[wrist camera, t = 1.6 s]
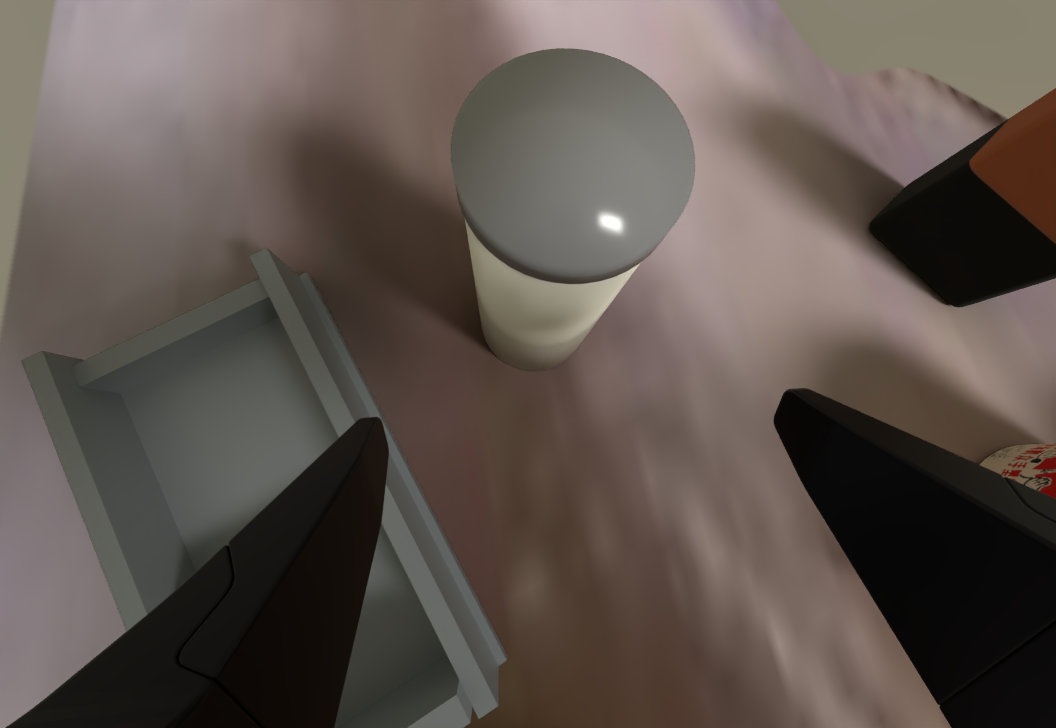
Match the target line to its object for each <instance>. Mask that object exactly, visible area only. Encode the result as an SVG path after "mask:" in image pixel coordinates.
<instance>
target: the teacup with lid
mask: <svg viewBox="0 0 1056 728" xmlns="http://www.w3.org/2000/svg"><path fill="white" fill-rule="evenodd" d="M980 465H981V466H983V467H985V468H987V469H990V470H992V471H994V472H996V473H999V474H1001V475H1002V476H1003V477H1008V478H1010V479H1012V480H1015V481H1017V482H1019V483H1021V484H1024V485H1026V486H1028V487H1030V488H1033V489H1035V490H1037V491H1039V492H1042V493H1044V494H1046V495H1049V496H1051V497H1053V498H1056V444H1022V445H1015V446H1011V447H1007V448H1004V449H1002V450H999V451H997V452H995V453H993V454H992V455H990V456H989V457H987V458H986V459H985V460H984V461H983V462H982V463H981V464H980Z"/></svg>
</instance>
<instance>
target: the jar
mask: <svg viewBox="0 0 1056 728" xmlns="http://www.w3.org/2000/svg"><path fill="white" fill-rule="evenodd" d="M451 162H452V168H453V174H454V179H455V185H456V191H457V197H458V201H459V204H460V208H461V211H462V214H463V216H464V218H465V223H466V229H467V235H468V242H469V248H470V255H471V261H472V268H473V274H474V280H475V287H476V293H477V300H478V306H479V312H480V319H481V325H482V331H483V335H484V338H485V340H486V342H487V344H488V346H489V348H490V349H491V351H492V352H493V353H494V354H495V355H496V356H497V357H498V358H499V359H500V360H502V361H503V362H504V363H506V364H508V365H510V366H512V367H514V368H517V369H520V370H525V371H543V370H548V369H551V368H554V367H556V366H558V365H560V364H561V363H563V362H565V361H566V360H567V359H568V358H569V357H570V356H571V355H572V354H573V353H574V352H575V350H576V349H577V348H578V346H579V345H580V344H581V342H582V341H583V340H584V338H585V337H586V336H587V334H588V333H589V331H590V330H591V329H592V327H593V326H594V325H595V323H596V322H597V321H598V319H599V318H600V317H601V315H602V314H603V313H604V311H605V310H606V309H607V307H608V306H609V305H610V303H611V302H612V300H613V299H614V298H615V296H616V295H617V294H618V292H619V291H620V290H621V288H622V287H623V286H624V284H625V283H626V282H627V280H628V279H629V278H630V276H631V275H632V274H633V272H634V271H635V269H636V268H637V267H638V265H639V264H640V263H641V262H642V261H643V260H644V259H645V258H647V257H648V256H649V255H650V254H651V253H652V252H653V251H654V250H655V249H656V247H657V246H658V245H659V244H660V243H661V241H662V240H663V239H664V237H665V236H666V235H667V234H668V232H669V231H670V230H671V228H672V227H673V226H674V224H675V223H676V222H677V220H678V219H679V217H680V216H681V214H682V213H683V211H684V209H685V206H686V204H687V202H688V200H689V197H690V194H691V191H692V187H693V183H694V176H695V154H694V147H693V142H692V139H691V135H690V132H689V129H688V127H687V124H686V122H685V120H684V118H683V116H682V114H681V113H680V111H679V109H678V108H677V106H676V104H675V103H674V102H673V101H672V99H671V98H670V97H669V96H668V94H667V93H666V92H665V91H664V90H663V89H662V88H661V87H660V86H659V85H658V84H657V83H656V82H655V81H653V80H652V79H651V78H649V77H648V76H647V75H646V74H644V73H643V72H641V71H640V70H638V69H636V68H635V67H633V66H632V65H629V64H627V63H625V62H623V61H621V60H619V59H617V58H614V57H611V56H608V55H605V54H602V53H597V52H593V51H589V50H580V49H549V50H542V51H537V52H533V53H528V54H525V55H523V56H520V57H517V58H514V59H512V60H510V61H508V62H506V63H504V64H502V65H501V66H499V67H498V68H496V69H495V70H493V71H492V72H490V73H489V74H488V75H487V76H485V77H484V78H483V79H482V80H481V81H480V82H479V83H478V84H477V85H476V86H475V87H474V88H473V90H472V91H471V92H470V93H469V95H468V96H467V98H466V99H465V101H464V103H463V104H462V106H461V108H460V111H459V113H458V115H457V117H456V121H455V124H454V128H453V132H452V139H451Z"/></svg>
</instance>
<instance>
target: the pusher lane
mask: <svg viewBox="0 0 1056 728" xmlns="http://www.w3.org/2000/svg"><path fill="white" fill-rule="evenodd" d="M249 257H250V259H251V261H252V263H253V265H254V267H255V269H256V271H257V273H258V275H259V277H260V278H259V279H257V280H255V281H253V282H250V283H248V284H246V285H244V286H242V287H240V288H238V289H236V290H233V291H231V292H229V293H227V294H225V295H223V296H221V297H218V298H216V299H214V300H212V301H210V302H208V303H206V304H204V305H201V306H199V307H197V308H195V309H193V310H191V311H189V312H186V313H184V314H182V315H180V316H178V317H176V318H174V319H172V320H169V321H167V322H165V323H163V324H161V325H159V326H157V327H154V328H152V329H150V330H148V331H146V332H144V333H142V334H139V335H137V336H135V337H133V338H131V339H129V340H127V341H125V342H122V343H120V344H118V345H116V346H114V347H112V348H110V349H107V350H105V351H103V352H101V353H99V354H97V355H95V356H93V357H90V358H88V359H86V360H81V359H76V358H72V357H67V356H62V355H58V354H53V353H48V352H44V351H41V352H39V353H37V354H35V355H33V356H30V357H28V358H26V359H24V360H22V364H23V366H24V369H25V371H26V374H27V377H28V379H29V382H30V384H31V387H32V389H33V392H34V395H35V397H36V400H37V402H38V405H39V407H40V410H41V412H42V415H43V418H44V420H45V423H46V425H47V428H48V430H49V433H50V436H51V438H52V441H53V443H54V446H55V448H56V451H57V454H58V456H59V459H60V461H61V464H62V466H63V469H64V472H65V474H66V477H67V479H68V482H69V484H70V487H71V490H72V492H73V495H74V497H75V500H76V502H77V505H78V507H79V510H80V513H81V515H82V518H83V520H84V523H85V525H86V528H87V531H88V533H89V536H90V538H91V541H92V543H93V546H94V549H95V551H96V554H97V556H98V559H99V561H100V564H101V567H102V569H103V572H104V574H105V577H106V579H107V582H108V585H109V587H110V590H111V592H112V595H113V597H114V600H115V602H116V605H117V608H118V610H119V613H120V615H121V618H122V620H123V623H124V626H125V628H126V631H128V630H129V629H130V628H132V627H133V626H134V625H135V624H136V623H138V622H139V621H140V620H141V619H142V618H144V617H145V616H146V615H147V614H148V613H150V612H151V611H152V610H153V609H154V608H155V607H157V606H158V605H159V604H160V603H161V602H162V601H164V600H165V599H166V598H167V597H168V596H170V595H171V594H172V593H173V592H174V591H175V590H177V589H178V588H179V587H180V586H181V585H182V584H183V583H184V582H185V581H186V580H188V579H189V578H190V577H191V576H192V575H193V574H194V573H195V572H196V571H197V570H199V569H200V568H201V567H202V566H203V565H204V564H205V563H206V562H207V561H208V560H209V559H211V558H212V557H213V556H214V555H215V554H216V553H217V552H218V551H219V550H220V549H221V548H222V547H223V546H225V545H228V542H229V541H230V540H231V539H232V538H233V537H234V536H235V535H236V534H237V533H238V532H239V531H240V530H242V529H243V528H244V527H245V526H246V525H247V524H248V523H249V522H250V521H251V520H252V519H253V518H254V517H255V516H256V515H257V514H259V513H260V512H261V511H262V510H263V509H264V508H265V507H266V506H267V505H268V504H269V503H270V502H271V501H272V500H273V499H274V498H275V497H277V496H278V495H279V494H280V493H281V492H282V491H283V490H284V489H285V488H286V487H287V486H288V485H289V484H290V483H291V482H292V481H294V480H295V479H296V478H297V477H298V476H299V475H300V474H301V473H302V472H303V471H304V470H305V469H306V468H307V467H308V466H309V465H310V464H312V463H313V462H314V461H315V460H316V459H317V458H318V457H319V456H320V455H321V454H322V453H323V452H324V451H325V450H326V449H327V448H329V447H330V446H331V445H332V444H333V443H334V442H335V441H336V440H337V439H338V438H339V437H340V436H341V435H342V434H343V433H344V432H346V431H347V430H348V429H349V428H350V427H351V426H352V425H353V424H354V423H355V422H356V421H357V420H359V419H360V418H367V417H379V418H380V419H381V420H382V423H383V427H384V431H385V434H386V438H387V442H388V447H389V458H388V468H387V477H386V487H385V496H384V506H383V514H382V522H381V527H380V532H379V536H378V540H377V545H376V549H375V553H374V558H373V562H372V566H371V571H370V575H369V580H368V584H367V588H366V593H365V597H364V601H363V606H362V610H361V614H360V619H359V623H358V627H357V632H356V636H355V640H354V645H353V649H352V653H351V658H350V662H349V666H348V671H347V675H346V679H345V684H344V688H343V692H342V697H341V701H340V705H339V710H338V714H337V718H336V723H335V727H334V728H463V727H465V726H466V725H468V724H469V723H470V722H471V713H472V706H473V708H474V710H475V712H476V714H477V716H478V718H479V719H480V718H481V717H483V716H484V715H486V714H487V713H489V712H490V711H491V710H493V709H494V708H496V707H497V706H498V677H499V665H501V664H502V663H504V662H505V661H507V655H506V652H505V650H504V648H503V646H502V644H501V642H500V641H499V639H498V637H497V635H496V633H495V631H494V629H493V627H492V625H491V623H490V621H489V619H488V617H487V615H486V613H485V612H484V610H483V608H482V606H481V604H480V602H479V600H478V598H477V596H476V594H475V592H474V590H473V588H472V586H471V584H470V583H469V581H468V579H467V577H466V575H465V573H464V571H463V569H462V567H461V565H460V563H459V561H458V559H457V557H456V555H455V554H454V552H453V550H452V548H451V546H450V544H449V542H448V540H447V538H446V536H445V534H444V532H443V530H442V528H441V526H440V525H439V523H438V521H437V519H436V517H435V515H434V513H433V511H432V509H431V507H430V505H429V503H428V501H427V499H426V497H425V496H424V494H423V492H422V490H421V488H420V486H419V484H418V482H417V480H416V478H415V476H414V474H413V472H412V470H411V468H410V467H409V465H408V463H407V461H406V459H405V457H404V455H403V453H402V451H401V449H400V447H399V445H398V443H397V441H396V439H395V438H394V436H393V434H392V432H391V430H390V428H389V426H388V424H387V422H386V420H385V418H384V416H383V414H382V412H381V410H380V409H379V407H378V405H377V403H376V401H375V399H374V397H373V395H372V393H371V391H370V389H369V387H368V385H367V383H366V382H365V380H364V378H363V376H362V374H361V372H360V370H359V368H358V366H357V364H356V362H355V360H354V358H353V356H352V354H351V353H350V351H349V349H348V347H347V345H346V343H345V341H344V339H343V337H342V335H341V333H340V331H339V329H338V327H337V325H336V324H335V322H334V320H333V318H332V316H331V314H330V312H329V310H328V308H327V306H326V304H325V302H324V300H323V298H322V296H321V295H320V293H319V291H318V289H317V287H316V285H315V283H314V281H313V279H312V277H311V276H310V275H309V274H308V273H307V272H305V273H303V274H301V275H299V276H298V275H297V274H296V273H295V272H294V271H293V270H292V269H290V268H289V267H288V266H287V265H286V264H285V263H283V262H282V261H281V260H280V259H279V258H278V257H277V256H275V255H274V254H273V253H272V252H271V251H270V250H268V249H267V248H266V249H264V250H262V251H259V252H257V253H255V254H253V255H251V256H249Z"/></svg>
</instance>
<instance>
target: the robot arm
mask: <svg viewBox="0 0 1056 728" xmlns="http://www.w3.org/2000/svg"><path fill="white" fill-rule="evenodd" d="M774 425H775V428H776V430H777V432H778V434H779V437H780V439H781V441H782V443H783V445H784V447H785V449H786V451H787V453H788V455H789V457H790V459H791V461H792V463H793V466H794V468H795V470H796V472H797V474H798V476H799V478H800V480H801V482H802V484H803V485H804V487H805V489H806V491H807V492H808V494H809V496H810V497H811V499H812V501H813V502H814V504H815V505H816V507H817V509H818V510H819V512H820V514H821V515H822V517H823V519H824V520H825V522H826V523H827V525H828V527H829V528H830V530H831V532H832V533H833V535H834V536H835V538H836V540H837V541H838V543H839V545H840V546H841V548H842V549H843V551H844V553H845V554H846V556H847V558H848V559H849V561H850V562H851V564H852V566H853V567H854V569H855V571H856V572H857V574H858V575H859V577H860V579H861V580H862V582H863V584H864V585H865V587H866V588H867V590H868V592H869V593H870V595H871V597H872V598H873V600H874V602H875V603H876V605H877V606H878V608H879V610H880V611H881V613H882V615H883V616H884V618H885V619H886V621H887V623H888V624H889V626H890V628H891V629H892V631H893V632H894V634H895V636H896V637H897V639H898V641H899V642H900V644H901V645H902V647H903V649H904V650H905V652H906V654H907V655H908V657H909V658H910V660H911V662H912V663H913V665H914V667H915V668H916V670H917V671H918V673H919V675H920V676H921V678H922V680H923V681H924V683H925V684H926V686H927V688H928V689H929V691H930V693H931V694H932V696H933V698H934V699H935V701H936V702H937V704H938V705H940V709H941V711H942V713H943V714H944V716H945V718H946V719H947V721H948V723H949V724H950V726H951V727H952V728H1056V498H1053V497H1051V496H1049V495H1046V494H1044V493H1042V492H1039V491H1037V490H1035V489H1033V488H1030V487H1028V486H1026V485H1024V484H1021V483H1019V482H1017V481H1015V480H1012V479H1010V478H1008V477H1003V476H1002V475H1001V474H999V473H996V472H994V471H992V470H990V469H987V468H985V467H983V466H981V465H978V464H976V463H974V462H972V461H969V460H967V459H965V458H963V457H960V456H958V455H956V454H954V453H951V452H949V451H947V450H945V449H942V448H940V447H938V446H936V445H933V444H931V443H929V442H927V441H924V440H922V439H920V438H918V437H915V436H913V435H911V434H909V433H906V432H904V431H902V430H900V429H897V428H895V427H893V426H891V425H888V424H886V423H884V422H882V421H879V420H877V419H875V418H873V417H870V416H868V415H866V414H864V413H861V412H859V411H857V410H855V409H852V408H850V407H848V406H846V405H843V404H841V403H839V402H837V401H834V400H832V399H830V398H828V397H825V396H823V395H821V394H819V393H816V392H814V391H812V390H810V389H807V388H796V389H788V390H786V391H785V392H784V394H783V396H782V398H781V401H780V403H779V406H778V408H777V410H776V413H775V415H774ZM388 458H389V447H388V442H387V438H386V434H385V431H384V427H383V423H382V420H381V419H380V418H379V417H367V418H360V419H359V420H357V421H356V422H355V423H354V424H353V425H352V426H351V427H350V428H349V429H348V430H347V431H346V432H344V433H343V434H342V435H341V436H340V437H339V438H338V439H337V440H336V441H335V442H334V443H333V444H332V445H331V446H330V447H329V448H327V449H326V450H325V451H324V452H323V453H322V454H321V455H320V456H319V457H318V458H317V459H316V460H315V461H314V462H313V463H312V464H310V465H309V466H308V467H307V468H306V469H305V470H304V471H303V472H302V473H301V474H300V475H299V476H298V477H297V478H296V479H295V480H294V481H292V482H291V483H290V484H289V485H288V486H287V487H286V488H285V489H284V490H283V491H282V492H281V493H280V494H279V495H278V496H277V497H275V498H274V499H273V500H272V501H271V502H270V503H269V504H268V505H267V506H266V507H265V508H264V509H263V510H262V511H261V512H260V513H259V514H257V515H256V516H255V517H254V518H253V519H252V520H251V521H250V522H249V523H248V524H247V525H246V526H245V527H244V528H243V529H242V530H240V531H239V532H238V533H237V534H236V535H235V536H234V537H233V538H232V539H231V540H230V541H229V542H228V545H225V546H223V547H222V548H221V549H220V550H219V551H218V552H217V553H216V554H215V555H214V556H213V557H212V558H211V559H209V560H208V561H207V562H206V563H205V564H204V565H203V566H202V567H201V568H200V569H199V570H197V571H196V572H195V573H194V574H193V575H192V576H191V577H190V578H189V579H188V580H186V581H185V582H184V583H183V584H182V585H181V586H180V587H179V588H178V589H177V590H175V591H174V592H173V593H172V594H171V595H170V596H168V597H167V598H166V599H165V600H164V601H162V602H161V603H160V604H159V605H158V606H157V607H155V608H154V609H153V610H152V611H151V612H150V613H148V614H147V615H146V616H145V617H144V618H142V619H141V620H140V621H139V622H138V623H136V624H135V625H134V626H133V627H132V628H130V629H129V630H128V631H127V632H126V633H124V634H123V635H122V636H121V637H119V638H118V639H117V640H116V641H115V642H113V643H112V644H111V645H110V646H109V647H107V648H106V649H105V650H104V651H102V652H101V653H100V654H99V655H98V656H96V657H95V658H94V659H93V660H92V661H90V662H89V663H88V664H87V665H85V666H84V667H83V668H82V669H81V670H79V671H78V672H77V673H76V674H75V675H73V676H72V677H71V678H70V679H68V680H67V681H66V682H65V683H64V684H62V685H61V686H60V687H59V688H58V689H56V690H55V691H54V692H53V693H52V694H50V695H49V696H48V697H47V698H45V699H44V700H43V701H42V702H40V703H39V704H38V705H36V706H35V707H34V708H33V709H31V710H30V711H29V712H27V713H26V714H24V715H23V716H22V717H20V718H19V719H17V720H16V721H15V722H13V723H12V724H10V725H9V726H7V727H6V728H334V727H335V723H336V718H337V714H338V710H339V705H340V701H341V697H342V692H343V688H344V684H345V679H346V675H347V671H348V666H349V662H350V658H351V653H352V649H353V645H354V640H355V636H356V632H357V627H358V623H359V619H360V614H361V610H362V606H363V601H364V597H365V593H366V588H367V584H368V580H369V575H370V571H371V566H372V562H373V558H374V553H375V549H376V545H377V540H378V536H379V532H380V527H381V522H382V514H383V506H384V496H385V487H386V477H387V468H388Z"/></svg>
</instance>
